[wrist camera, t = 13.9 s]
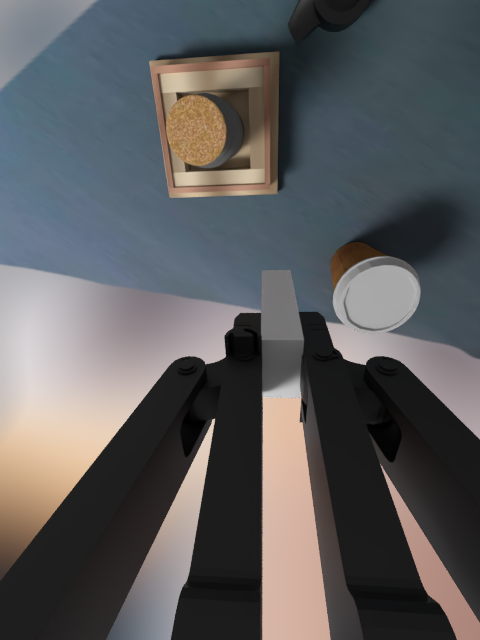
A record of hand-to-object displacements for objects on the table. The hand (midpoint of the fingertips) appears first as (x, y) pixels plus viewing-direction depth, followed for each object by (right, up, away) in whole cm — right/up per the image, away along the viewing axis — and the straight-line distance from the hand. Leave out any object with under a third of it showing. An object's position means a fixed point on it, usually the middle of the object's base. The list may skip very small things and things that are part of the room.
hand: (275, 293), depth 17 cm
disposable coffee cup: (+14, +7, +28) cm, 32 cm away
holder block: (-4, +21, +21) cm, 30 cm away
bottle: (-4, +21, +20) cm, 29 cm away
